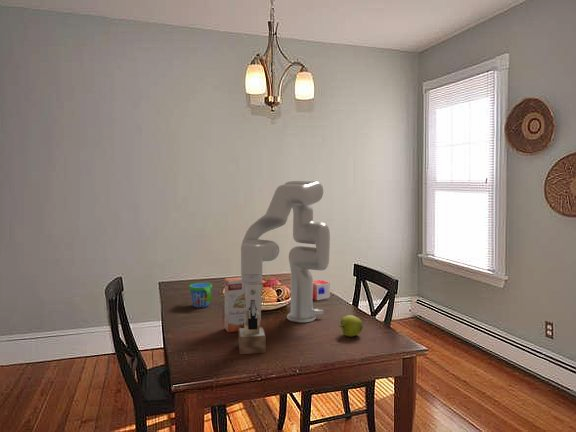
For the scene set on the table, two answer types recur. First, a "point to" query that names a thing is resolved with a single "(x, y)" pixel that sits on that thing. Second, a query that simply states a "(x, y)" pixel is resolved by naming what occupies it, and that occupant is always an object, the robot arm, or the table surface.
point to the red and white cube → (321, 290)
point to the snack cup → (201, 294)
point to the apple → (351, 325)
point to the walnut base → (252, 342)
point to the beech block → (246, 316)
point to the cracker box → (236, 304)
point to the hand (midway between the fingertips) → (251, 324)
